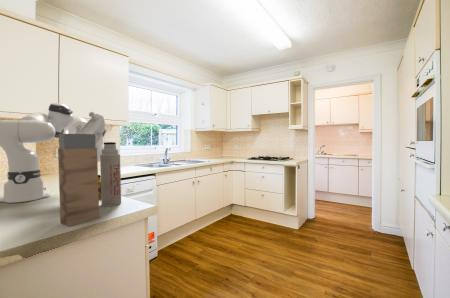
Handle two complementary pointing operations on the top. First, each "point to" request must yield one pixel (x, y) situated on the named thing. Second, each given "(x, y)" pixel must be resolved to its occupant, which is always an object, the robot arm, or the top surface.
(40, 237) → the top surface
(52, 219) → the top surface
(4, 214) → the top surface
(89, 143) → the brushed metal plate
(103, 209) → the top surface
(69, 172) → the pedestal
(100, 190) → the condiment
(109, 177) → the thermos bottle
